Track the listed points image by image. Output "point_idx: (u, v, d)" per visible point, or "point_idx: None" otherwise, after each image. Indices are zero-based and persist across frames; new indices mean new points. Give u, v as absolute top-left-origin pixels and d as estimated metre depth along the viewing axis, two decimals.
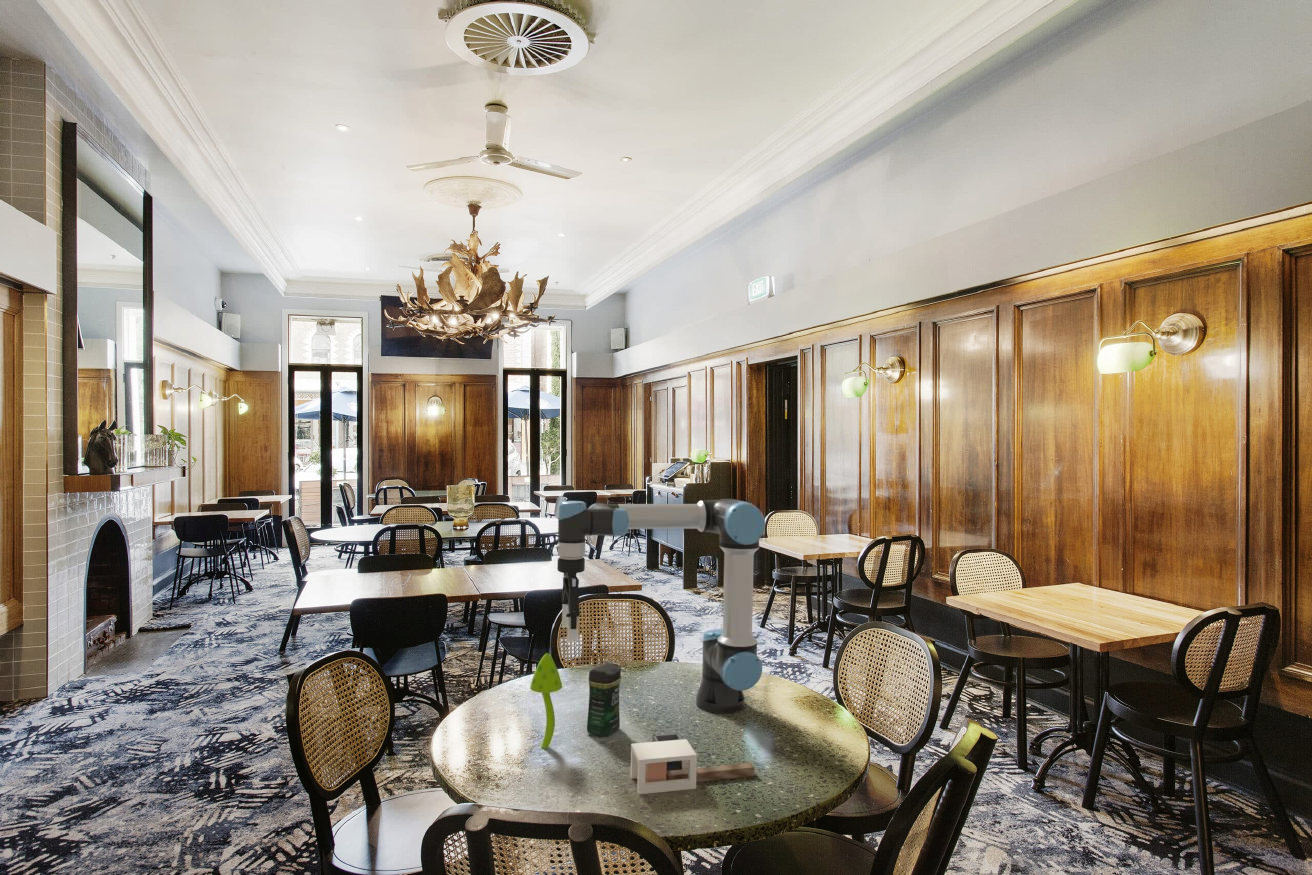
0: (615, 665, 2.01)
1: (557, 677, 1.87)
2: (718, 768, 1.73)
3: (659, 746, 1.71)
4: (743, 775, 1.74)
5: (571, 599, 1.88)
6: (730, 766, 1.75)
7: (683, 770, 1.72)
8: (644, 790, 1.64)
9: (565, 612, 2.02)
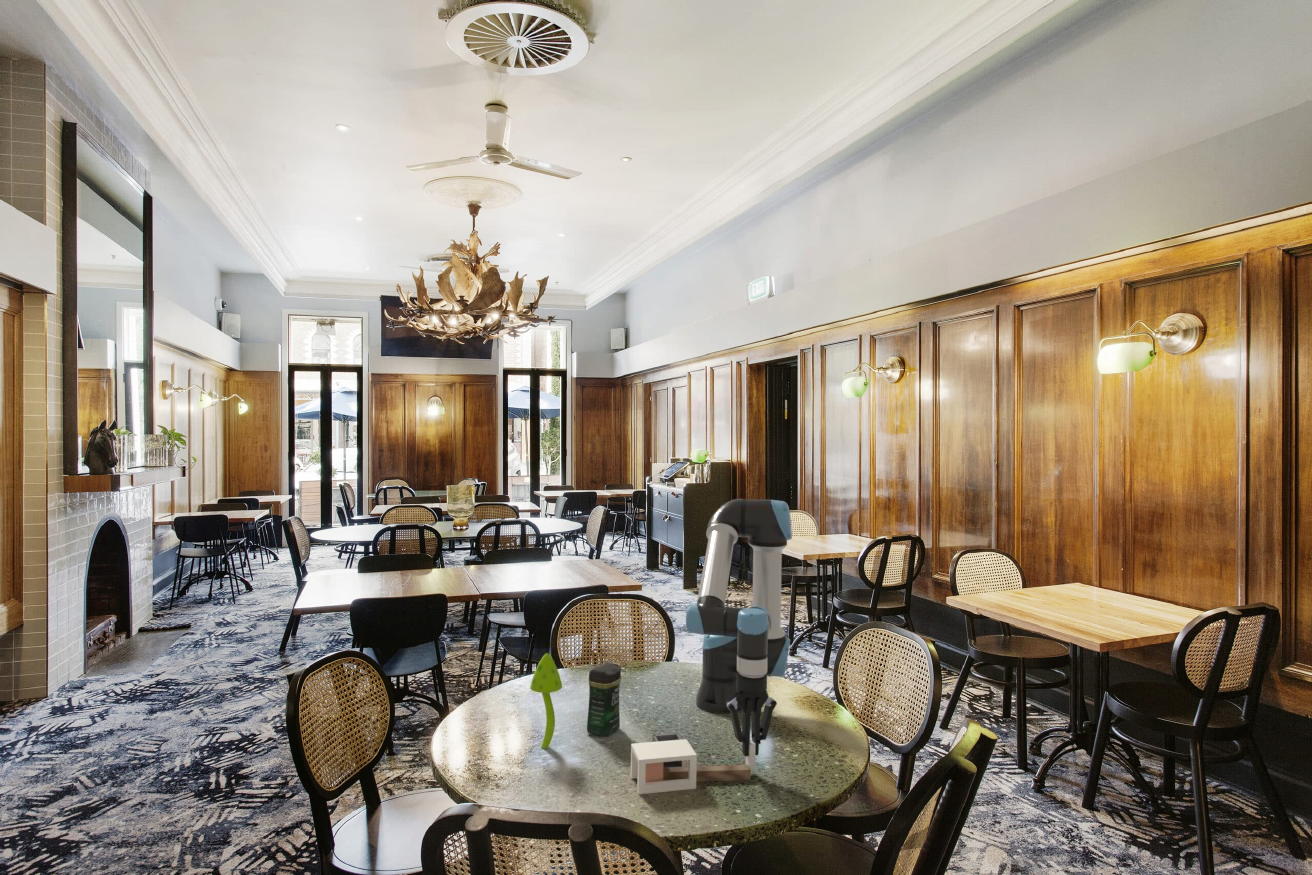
0: (615, 665, 2.01)
1: (557, 677, 1.87)
2: (713, 768, 1.72)
3: (659, 746, 1.71)
4: (738, 777, 1.72)
5: (732, 723, 1.75)
6: (726, 767, 1.73)
7: (677, 768, 1.72)
8: (644, 790, 1.64)
9: None
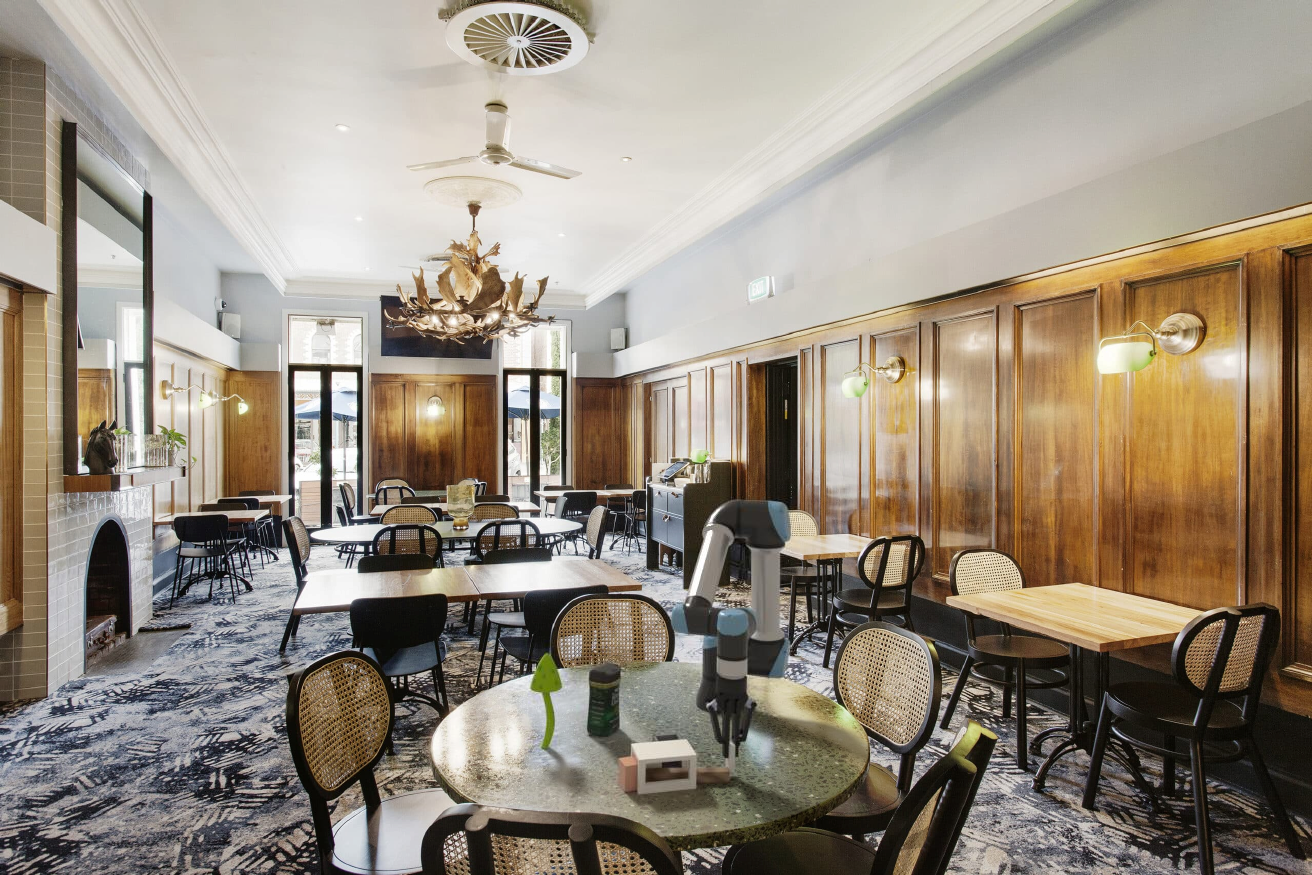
0: (615, 665, 2.01)
1: (557, 677, 1.87)
2: None
3: (659, 746, 1.71)
4: (718, 779, 1.71)
5: (712, 725, 1.74)
6: (705, 768, 1.72)
7: (656, 769, 1.71)
8: (644, 790, 1.64)
9: None
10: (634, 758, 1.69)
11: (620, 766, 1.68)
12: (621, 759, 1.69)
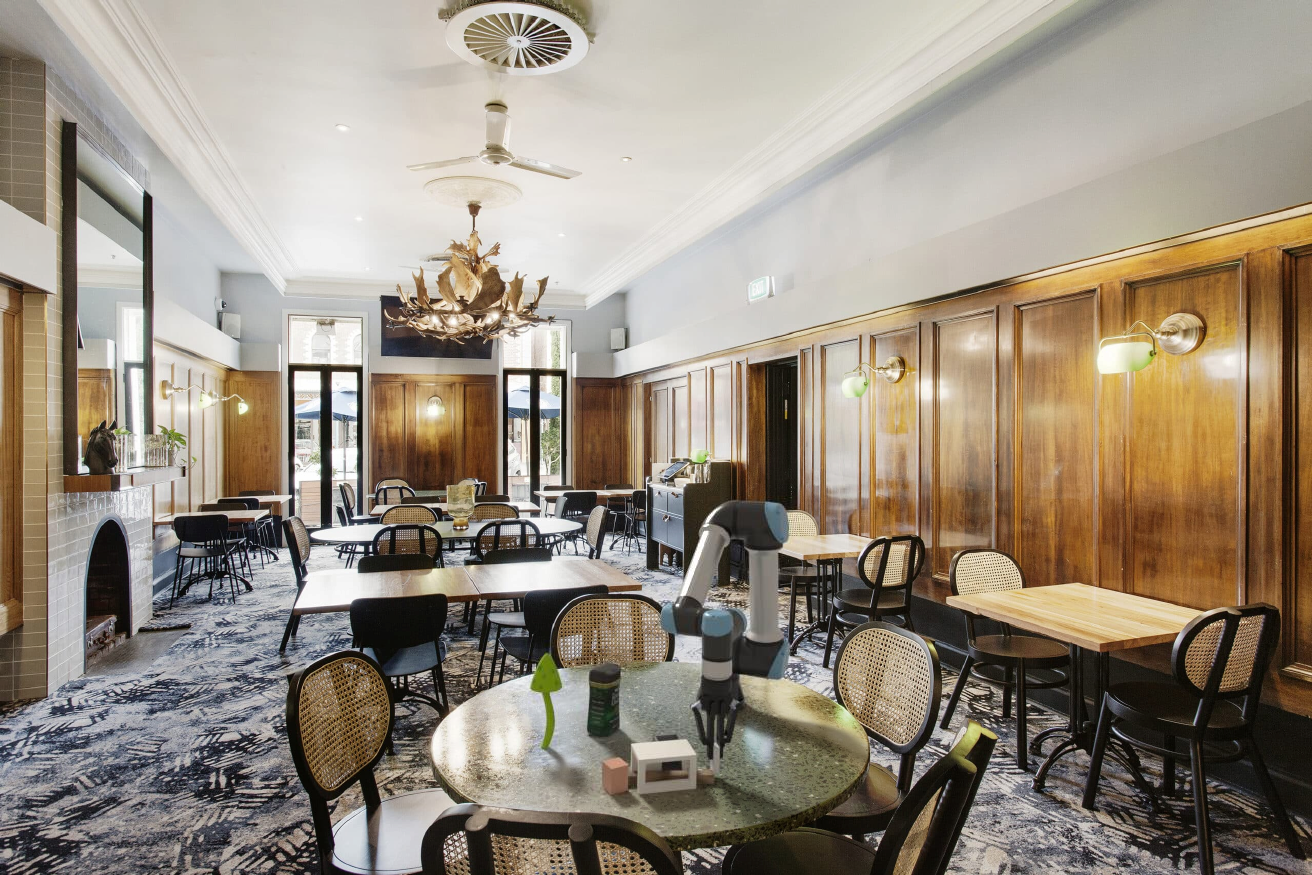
0: (615, 665, 2.01)
1: (557, 677, 1.87)
2: (676, 773, 1.71)
3: (659, 746, 1.71)
4: (702, 782, 1.70)
5: None
6: None
7: None
8: (644, 790, 1.64)
9: None
10: (618, 760, 1.68)
11: (604, 769, 1.66)
12: (605, 762, 1.67)
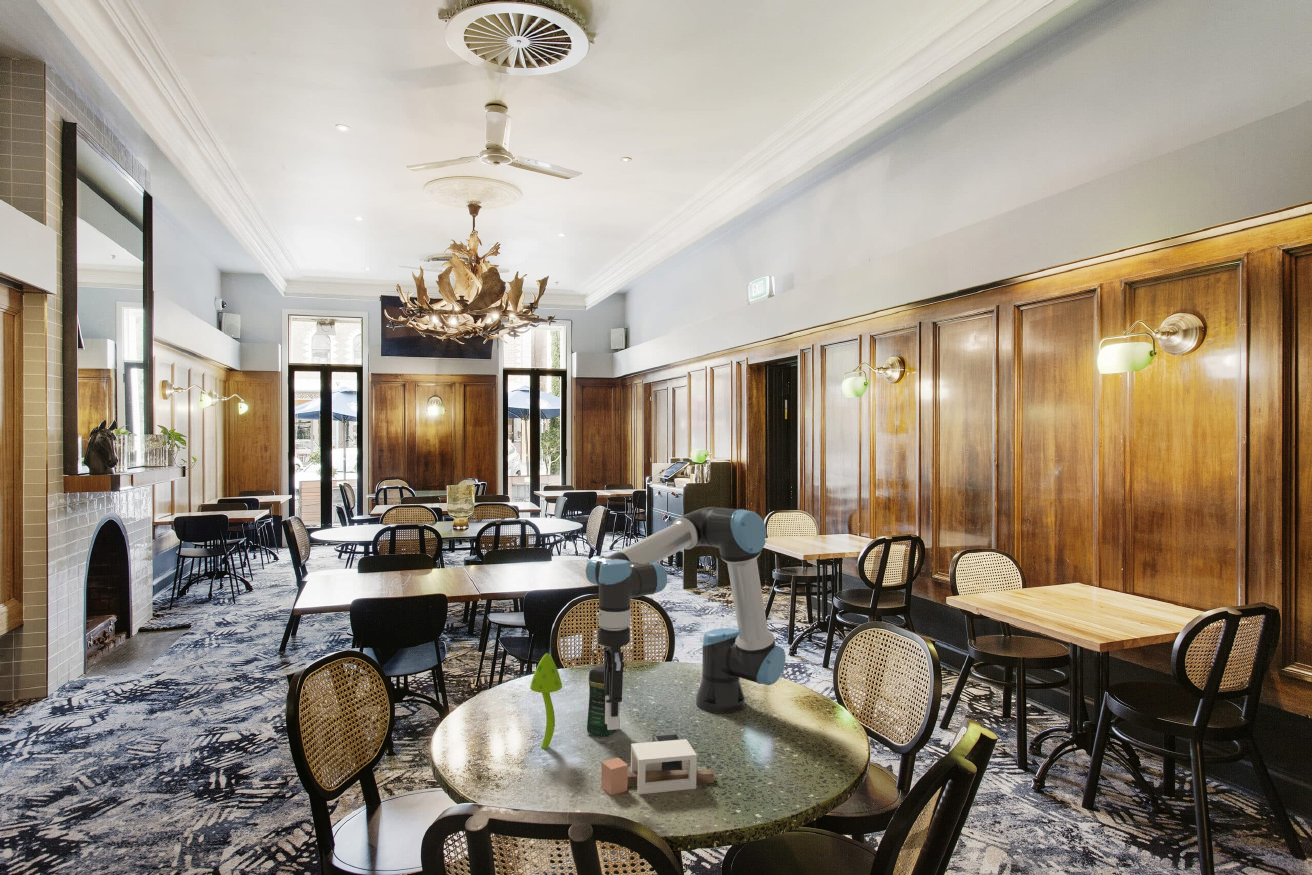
0: None
1: (557, 677, 1.87)
2: (676, 772, 1.71)
3: (659, 746, 1.71)
4: (701, 781, 1.70)
5: (613, 686, 1.62)
6: None
7: None
8: (644, 790, 1.64)
9: None
10: (617, 760, 1.68)
11: (604, 770, 1.66)
12: (604, 762, 1.67)
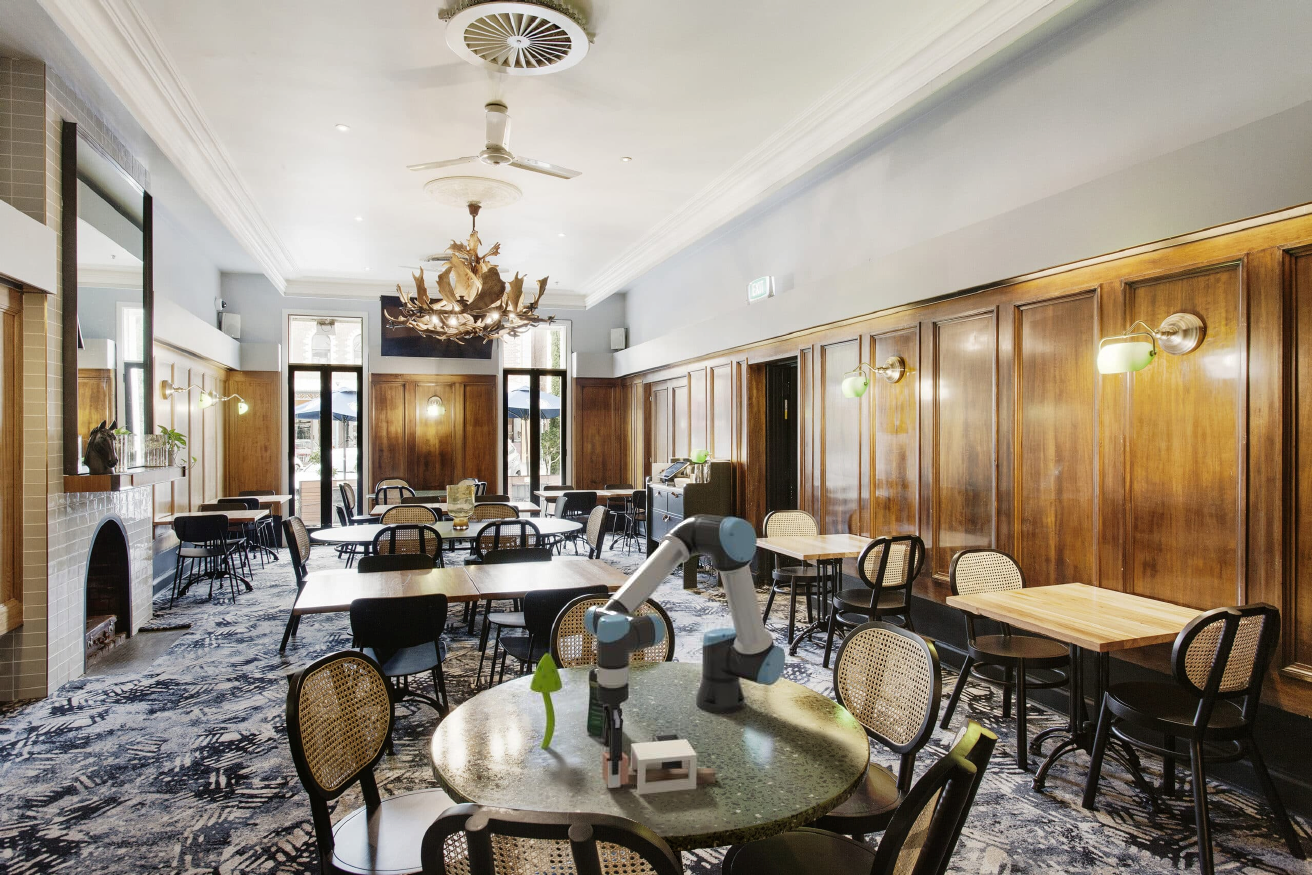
0: None
1: (557, 677, 1.87)
2: (678, 771, 1.71)
3: (659, 746, 1.71)
4: (703, 780, 1.70)
5: (613, 744, 1.61)
6: None
7: None
8: (644, 790, 1.64)
9: None
10: None
11: (605, 761, 1.67)
12: (605, 754, 1.68)
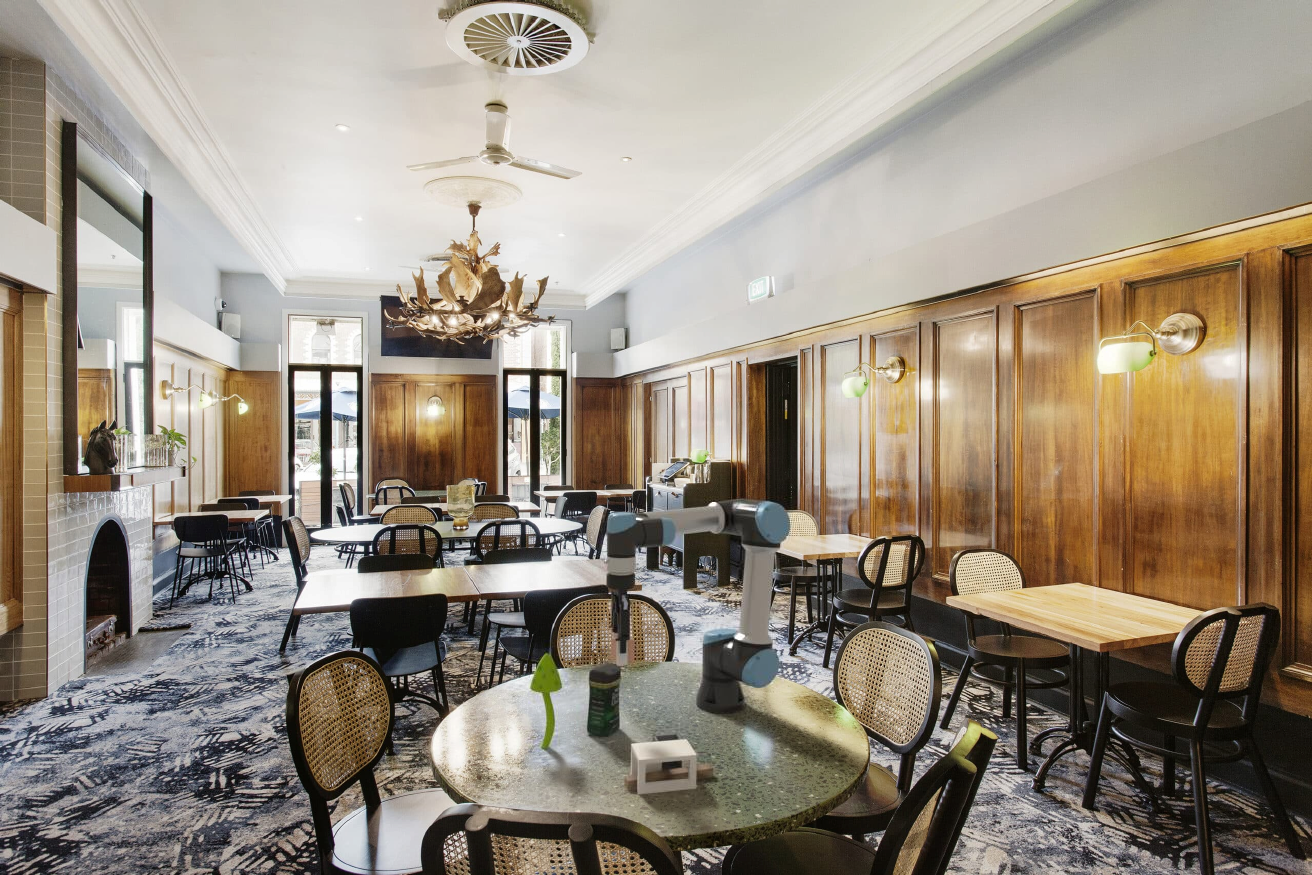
0: (615, 665, 2.01)
1: (557, 677, 1.87)
2: (677, 771, 1.72)
3: (659, 746, 1.71)
4: (702, 776, 1.72)
5: (622, 624, 1.78)
6: None
7: None
8: (644, 790, 1.64)
9: None
10: None
11: (613, 644, 1.84)
12: (614, 638, 1.85)
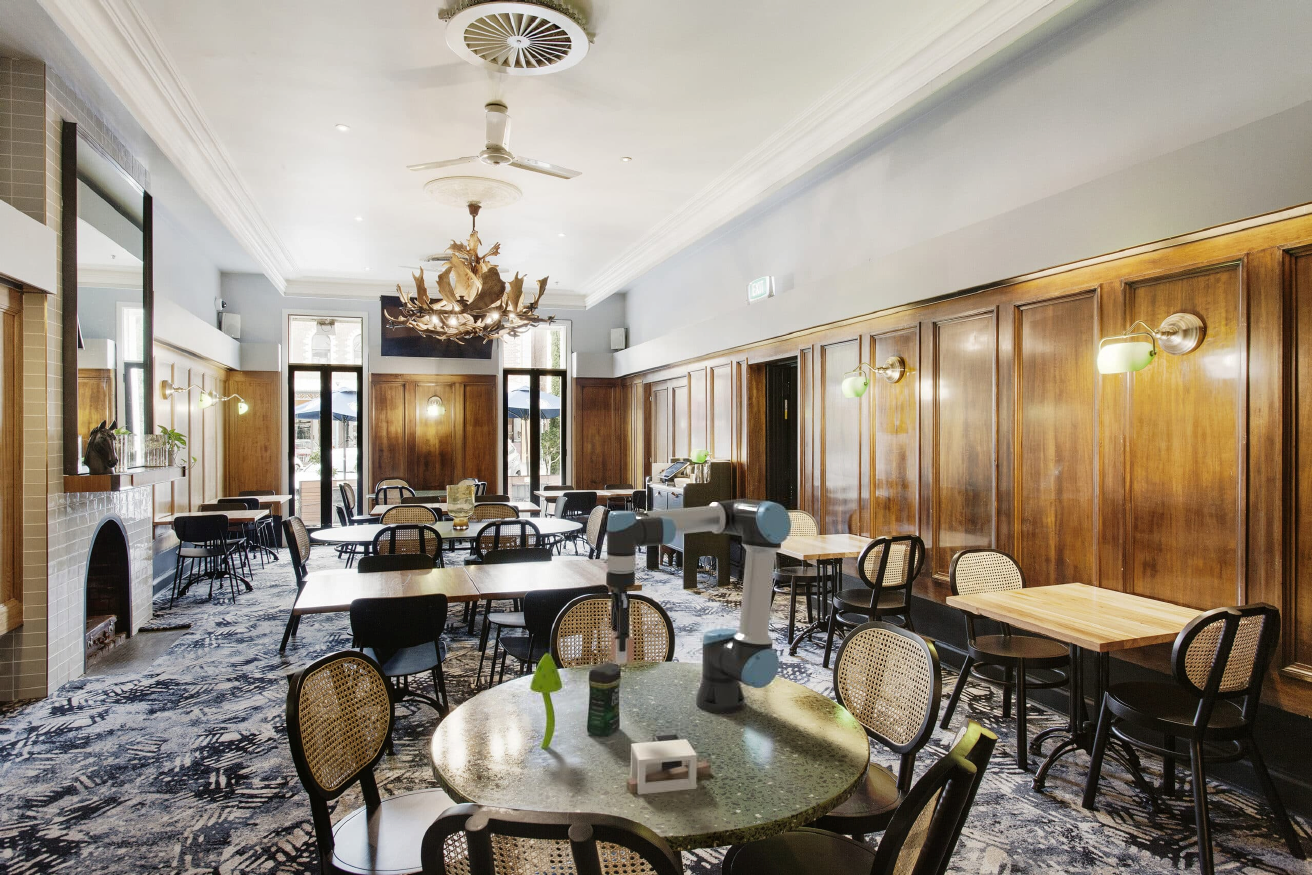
0: (615, 665, 2.01)
1: (557, 677, 1.87)
2: (676, 770, 1.72)
3: (659, 746, 1.71)
4: (700, 774, 1.74)
5: (621, 622, 1.78)
6: (687, 766, 1.74)
7: None
8: (644, 790, 1.64)
9: None
10: None
11: (612, 642, 1.85)
12: (613, 636, 1.85)
